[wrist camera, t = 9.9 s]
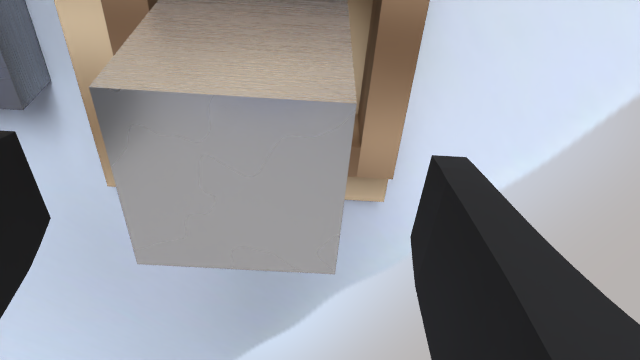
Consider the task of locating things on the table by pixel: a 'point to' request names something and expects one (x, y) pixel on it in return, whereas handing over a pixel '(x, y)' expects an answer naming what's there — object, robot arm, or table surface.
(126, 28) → the rack board
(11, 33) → the socket
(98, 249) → the table surface
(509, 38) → the table surface
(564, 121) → the table surface
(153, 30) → the brushed metal block
